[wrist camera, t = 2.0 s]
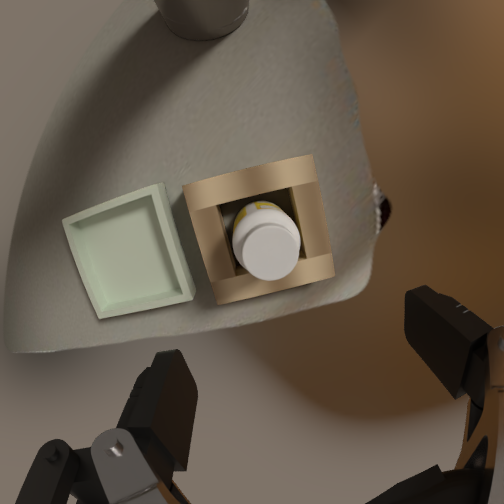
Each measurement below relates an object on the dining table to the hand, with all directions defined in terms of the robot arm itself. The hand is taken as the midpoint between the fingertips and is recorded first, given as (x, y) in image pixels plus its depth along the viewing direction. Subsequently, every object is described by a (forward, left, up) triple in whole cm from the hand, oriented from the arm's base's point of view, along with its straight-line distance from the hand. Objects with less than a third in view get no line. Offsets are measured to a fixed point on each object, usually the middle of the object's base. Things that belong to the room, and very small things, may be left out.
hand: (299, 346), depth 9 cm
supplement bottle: (0, 0, -21) cm, 21 cm away
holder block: (0, 0, -21) cm, 21 cm away
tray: (-8, -12, -21) cm, 25 cm away
